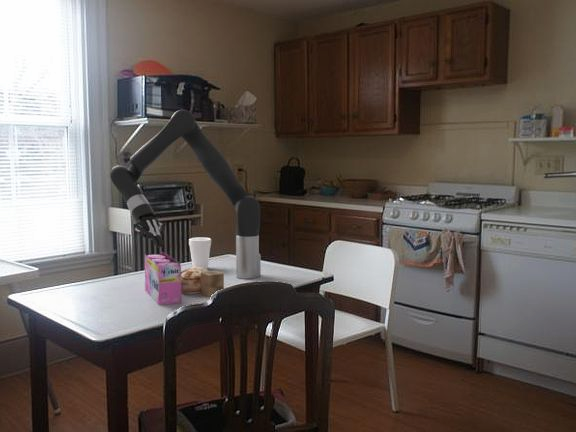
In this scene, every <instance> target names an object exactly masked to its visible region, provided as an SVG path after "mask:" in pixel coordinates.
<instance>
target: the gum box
mask: <svg viewBox="0 0 576 432" xmlns="http://www.w3.org/2000/svg"><path fill="white" fill-rule="evenodd" d="M181 272H182V265H181V263H180V262H179V261H177V260H176V259H175V258H173V257H171V256H170V255H169V254H167V253H166V252H160V253H159V254H148V253H144V285H145V286H144V288H145V291H146V292H147V294H149V295H150V296H151V298H152V299H153V300H154V302H155V303H157V304H158V305H159V306H163V305H172V304H180V303H182V292H181Z"/></svg>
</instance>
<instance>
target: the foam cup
mask: <svg viewBox="0 0 576 432" xmlns="http://www.w3.org/2000/svg"><path fill="white" fill-rule="evenodd" d="M211 245H212V238H210V237H199V236H198V237H191V238H189V239H188V246H189V250H190V256H191V263H192V268H194V267H201V268H205V269H207V270H208V267H209V262H210V252H211Z"/></svg>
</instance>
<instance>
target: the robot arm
mask: <svg viewBox="0 0 576 432" xmlns="http://www.w3.org/2000/svg"><path fill="white" fill-rule="evenodd" d="M200 128H201V127H199V125H198V123H197V121H196V118H195V115H194V114H193V113H192V112H191V111H189V110H187V109H180V110H177V111H175V112H174V113H173V114H172V115H171V118H170V119H169V121H168V122H167V123H166V125H165V126H164V127H163V128H162V129H160V131H159V132H158V133H157V134H156V135H155V136H153V137H152V138H151V139H150V140H148V142H146V143H145V144H143V145H142V146H141V147H140V148H139V149H138V150H137V151H136V152H135V153H133V155H131V156H130V158H129V163H130V166H129V167H128V168H127V167H126V166H124V165H115V166H114V167H112V168H111V169H110V173H109V177H110V180H111V182H112V184H113V185H114V186H115V188H116V189H117V190H118V192H119V193H120V194H121V196H122V198H123V200H124V202H125V203H126V205H127V209H128V210H129V212H130V215H131V216H132V218H133V220H134V221H135V223H136V224H137V225H136V226H135V228H134V230H133V231H134V232H135V233H136V234H138V235H140V236H142V238H145V239H146V240H149V239H150V240H152V242H153V243H154V245H155V247H157V248H162V247H163V245H164V240H163V239H162V236H163V235H164V234H165V229H166V226H167V224H166V222H164V221H163V222H160V221H159V219H158V218H156V214H155V211H154V210H153V208H152V206H151V205H150V203H149V201H148V199H147V198H146V196H145V195H144V193H143V192H142V189H141V188H140V187H139V186H138V185H137V184H136V183H137V182H138V181H139V179H140V178H141V176H142V175H143V173H144V171H145V170H146V169H147V168H149V167H150V165H152V164H153V163H154V162H155V161H156V160H157V159H158V158H159V157H160V156H161V155H162V154H163V153H164V151H166V150H167V149H168V148H169V147H170V146H171V145H172V144H173V143H175V142H176V141H177V140H178V139H180V138H182V139H183V140H184V142H186V144H187V145H188V146H189V148H190V149H191V150H192V152H193V155H194V156H195V157H196V159H197V160H198V163H199V164H200V166H201V167H202V169H203V170H204V171H205V172H206V173H207V175H208V177H209V178H211V180H212V181H213V183H215V184H216V185H217V187H218V188H219V189H220V190H221V191H222V192H223V193H224V195H225V196H226V197H227V198H228V200H229V201H230V203H231V205H232V207H233V208H234V211H235V212H236V216H237V218H236V221H237V225H236V229H235V231H236V232H235V248H236V249H235V251H236V252H235V255H236V257H235V261H236V262H235V264H236V265H235V267H236V268H235V269H236V270H235V275H236V278H238V279H245V280H246V279H248V280H249V279H257V278H259V277H261V275H262V274H261V270H262V269H261V267H262V266H261V264H262V263H261V262H262V261H261V258H262V257H261V253H259V252H260V251H259V250H260V249H259V248H260V247H259V246H260V242H259V240H260V239H259V238H260V236H259V235H260V234H259V233H260V227H261V206H260V203H259V201H258V200H257V198H255V197H253V196H251V194H249V193H248V191H246V189H245V188H244V187H243V186H242V184H241V183H240V182H239V180H238V178H237V176H236V174H235V172H234V170H233V168H232V166H231V165H230V164H229V162H228V161H227V159H226V158H225V156H223V154H222V152H221V151H220V150H219V149H218V148H217V147H216V146H215V144H213V143H212V142H211V140H209V139H208V138H207V136H206V135H205V134H204V133H203V131H202V130H201V129H200Z"/></svg>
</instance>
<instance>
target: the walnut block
mask: <svg viewBox="0 0 576 432" xmlns="http://www.w3.org/2000/svg"><path fill="white" fill-rule="evenodd" d="M224 274H225V273H223V272H221V271H218V270H208V272H201V292H200V295H202V296H204V297H206V298H210V297H211V295H212V294H214V293H215V292H216V291H218V290H221V289H224V290H225V278H224V276H225V275H224ZM211 298H212V297H211Z"/></svg>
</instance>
